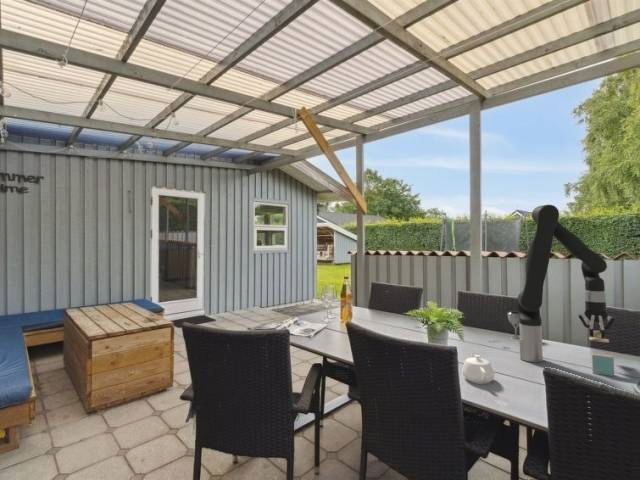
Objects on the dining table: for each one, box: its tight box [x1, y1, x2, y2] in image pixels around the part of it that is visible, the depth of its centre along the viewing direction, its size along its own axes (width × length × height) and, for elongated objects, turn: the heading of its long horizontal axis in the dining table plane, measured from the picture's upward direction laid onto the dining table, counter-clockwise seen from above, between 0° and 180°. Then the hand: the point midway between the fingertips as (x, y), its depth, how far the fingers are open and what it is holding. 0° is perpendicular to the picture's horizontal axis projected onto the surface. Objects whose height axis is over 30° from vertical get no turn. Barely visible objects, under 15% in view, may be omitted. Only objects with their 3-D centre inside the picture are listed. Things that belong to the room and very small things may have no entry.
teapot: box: [461, 353, 495, 385], centre depth 141 cm, size 20×12×10 cm, turn 170°
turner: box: [588, 329, 610, 343], centre depth 154 cm, size 6×16×4 cm, turn 147°
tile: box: [591, 353, 615, 377], centre depth 143 cm, size 7×2×8 cm, turn 57°
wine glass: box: [507, 310, 520, 340], centre depth 198 cm, size 8×8×15 cm
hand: (596, 337), depth 155 cm, fingers closed on turner, 2 cm apart
